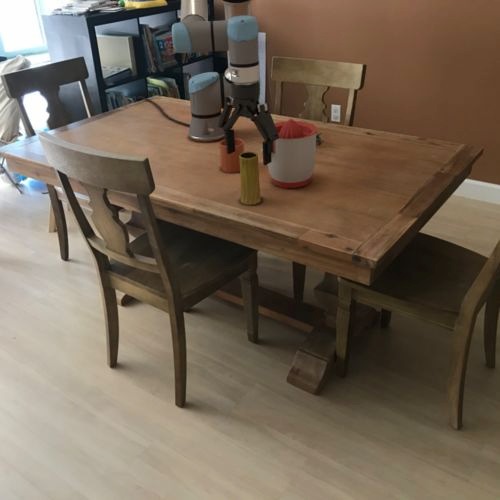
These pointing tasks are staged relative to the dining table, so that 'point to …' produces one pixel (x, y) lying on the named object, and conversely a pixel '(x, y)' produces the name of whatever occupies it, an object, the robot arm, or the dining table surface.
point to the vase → (249, 178)
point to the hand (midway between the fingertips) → (248, 157)
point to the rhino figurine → (318, 139)
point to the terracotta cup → (231, 156)
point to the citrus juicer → (293, 154)
